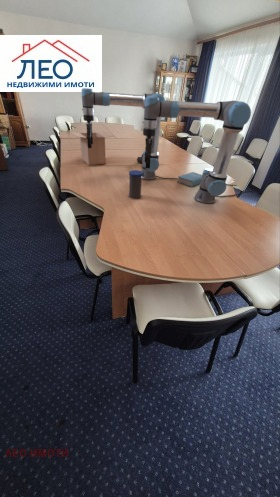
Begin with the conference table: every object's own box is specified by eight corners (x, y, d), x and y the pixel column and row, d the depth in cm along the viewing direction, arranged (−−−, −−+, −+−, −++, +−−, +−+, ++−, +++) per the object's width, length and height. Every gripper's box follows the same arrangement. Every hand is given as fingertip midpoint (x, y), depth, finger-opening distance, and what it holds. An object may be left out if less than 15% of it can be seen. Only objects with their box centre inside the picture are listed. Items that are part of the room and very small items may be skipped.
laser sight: (156, 166, 236) (157, 156, 230) (135, 163, 239) (136, 153, 233) (157, 163, 244) (158, 154, 238) (137, 161, 247) (138, 151, 241)
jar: (129, 198, 165) (129, 174, 155) (129, 193, 172) (129, 170, 162) (140, 198, 166) (142, 175, 155) (140, 194, 173) (141, 171, 163)
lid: (129, 176, 155) (129, 174, 154) (129, 172, 163) (129, 169, 162) (143, 177, 156) (143, 174, 155) (142, 172, 164) (142, 170, 163)
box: (116, 165, 229) (116, 136, 213) (83, 168, 214) (80, 137, 198) (102, 154, 259) (101, 128, 243) (71, 156, 244) (68, 129, 228)
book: (191, 177, 214) (192, 171, 211) (206, 182, 205) (207, 176, 202) (177, 181, 200) (178, 176, 197) (192, 187, 191) (193, 181, 188)
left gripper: (84, 112, 170) (87, 142, 182) (81, 116, 150) (84, 149, 163) (94, 112, 171) (96, 142, 183) (92, 116, 151) (94, 149, 163)
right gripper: (142, 124, 140) (140, 159, 153) (144, 131, 120) (141, 170, 133) (154, 125, 140) (151, 160, 153) (157, 132, 120) (154, 171, 133)
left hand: (90, 146), depth 173 cm, fingers open, 13 cm apart
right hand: (147, 165), depth 143 cm, fingers open, 13 cm apart
